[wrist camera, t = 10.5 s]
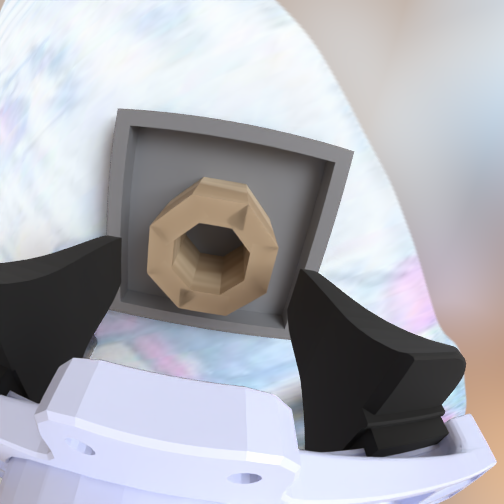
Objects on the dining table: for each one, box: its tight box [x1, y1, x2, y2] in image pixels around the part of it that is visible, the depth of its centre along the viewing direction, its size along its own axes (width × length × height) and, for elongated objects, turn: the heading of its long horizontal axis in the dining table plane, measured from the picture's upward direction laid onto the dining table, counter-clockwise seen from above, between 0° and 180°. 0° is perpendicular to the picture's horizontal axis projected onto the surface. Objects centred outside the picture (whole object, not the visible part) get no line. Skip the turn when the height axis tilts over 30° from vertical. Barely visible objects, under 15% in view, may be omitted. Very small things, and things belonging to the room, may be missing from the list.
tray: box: [107, 109, 354, 340], centre depth 16 cm, size 12×12×2 cm
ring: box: [147, 177, 278, 316], centre depth 14 cm, size 5×5×4 cm
